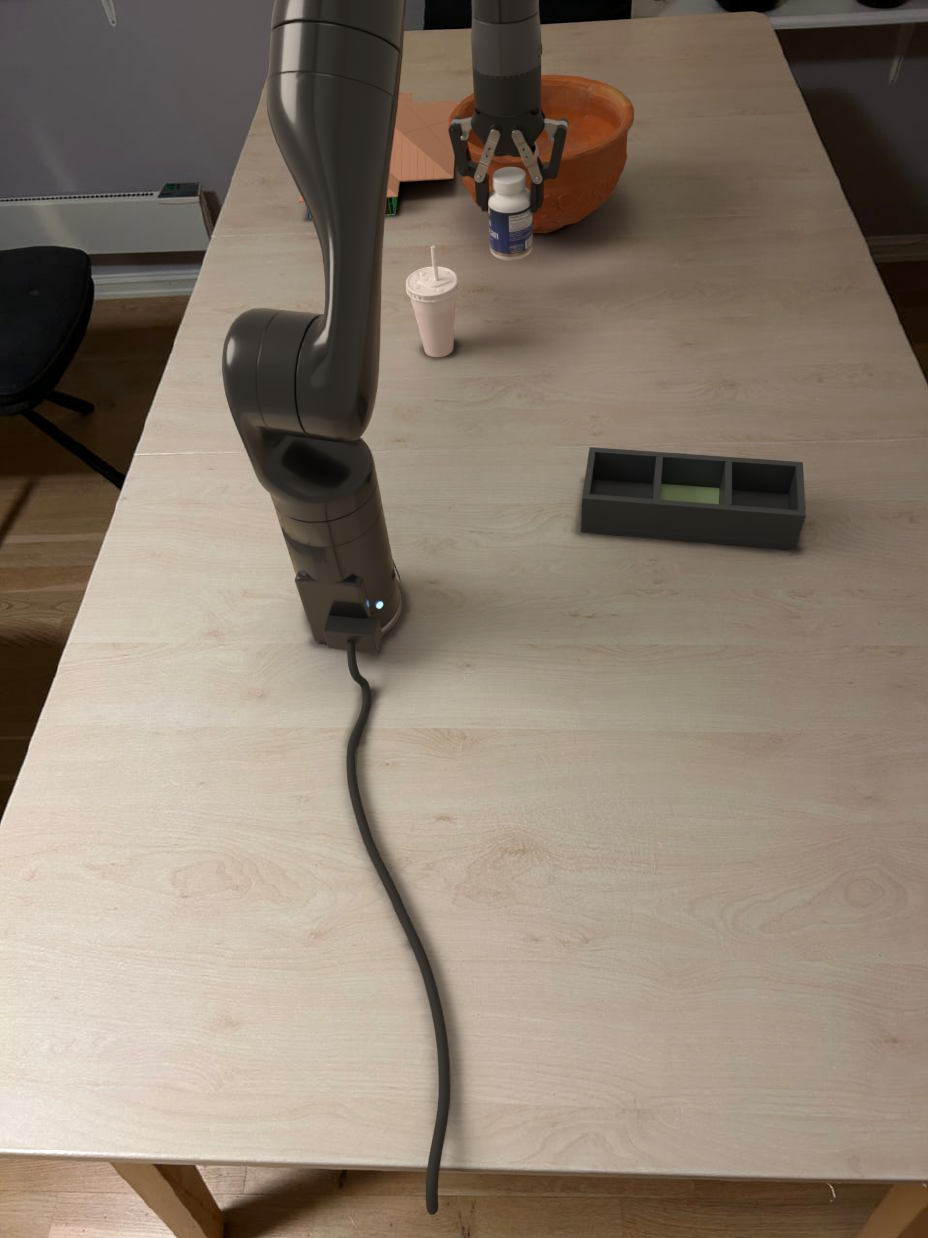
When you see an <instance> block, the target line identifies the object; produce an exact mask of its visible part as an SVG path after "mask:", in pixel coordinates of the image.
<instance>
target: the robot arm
mask: <svg viewBox="0 0 928 1238" xmlns="http://www.w3.org/2000/svg"><path fill="white" fill-rule="evenodd" d="M470 2H471V29H470V45H471V47H470V49H471V50H470V51H471V67H472V68H471V69H472V85H473V87H472V88H473V93H474V108H475V109H474V114H473V116H472V117H470V118H465V119H461V118H460V117H459V116H455V117H454V118H453V119H452V122H451V124H450V127H449V129H448V132H449V136H450V140H451V144H452V147H453V151H454V155H455V159H454V160H455V163H456V167H457V170H458V174H459V175H460V177H461V176H463V177H466V176H469V177H471V178H473V179H474V181H475V191H476V203H477V204H476V203H475V204H476V205H477V207H479V206H481V208H480V209H481V212H485V211H488V196H489V194H490V190H489V174H487V169H488V167H489V164H490V161H491V159H492V156H493V154H494V155H495V157H502V156H506V155H509V156H513V157H521V158H522V160H523V163H524V165H525V167H526V168H527V169H528V171H529V173H530V176H531V178H532V181H531V213H537V210H538V208H541V207H542V205H543V201H544V181H545V180H547V179H549V178H550V179H555V178H557V176H558V171H559V167H560V163H561V158H562V154H563V149H564V144H565V139H566V135H567V130H568V125H569V122H568V120H567V119H566V118H561V119H560V120H559V121H556V120H552V119H547V118H546V117H545V114H544V113H543V110H542V107H541V75H542V55H543V42H542V28H541V27H542V26H541V18H540V0H471V1H470ZM406 7H407V0H274V4H273V8H272V13H271V21H270V36H269V52H268V67H267V80H266V111H267V112H266V113H267V117H268V121H269V125H270V128H271V132H272V134H273V137H274V139H275V143H276V145H277V147H278V149H279V152H280V154H281V156H282V158H283V161H284V163H285V165H286V166H287V170H288V172H289V174H290V176H291V178H292V180H293V182H294V184H295V186H296V188H297V190H298V192H299V195H300V194H301V196H302V198H303V200H304V202H303V203H304V205H305V207H306V210H307V209H308V212H309V214H310V216H311V217H310V220H311V221H312V223H313V226H314V229H315V232H316V236H317V239H318V242H319V247H320V251H321V256H322V264H323V273H324V311H323V313H314V312H306V311H305V312H304V311H297V310H288V309H287V310H286V309H277V308H267V307H256V308H255V307H254V308H250V309H248V310H245V311H243V312H242V313H240V314H239V315H238V316H237V317H236V318H235V319H234V320H233V322H232V323H231V325H230V326H229V328H228V331H227V333H226V336H225V339H224V341H223V342H224V343H223V346H222V347H223V348H222V356H221V373H222V383H223V390H224V394H225V398H226V401H227V405H228V408H229V411H230V414H231V417H232V419H233V422H234V425H235V428H236V430H237V432H238V436H239V437H240V440H241V442H242V444H243V447H244V449H245V451H246V454H247V457H248V459H249V462H250V464H251V466H252V470H253V472H254V474H255V477H256V479H257V481H258V482H259V484H260V486H261V487H262V488H263V489H264V490H265V491H266V492H268V493H269V495H270V498H271V499H270V500H271V501H272V503H273V506H274V510H275V514H276V516H277V520H278V523H279V526H280V529H281V533H282V536H283V540H284V542H285V545H286V549H287V551H288V555H289V558H290V561H291V565H292V568H293V570H294V574H295V577H294V583H295V587H296V589H297V593H298V596H299V599H300V601H301V605H302V608H303V611H304V615H305V617H306V619H307V620H306V621H307V623H308V626H309V629H310V632H311V636H312V639H313V641H314V642H315V643H320V644H326V646H327V648H328V649H329V650H330V649H331V650H340V651H346V659H347V667H348V671H349V674H350V676H351V678H352V680H353V681H354V682H355V683H356V684H358V685H359V686H360V691H361V698H362V700H361V701H362V702H361V708H360V712H359V715H358V717H357V720H356V723H355V725H354V727H353V729H352V731H351V734H350V736H349V739H348V743H347V748H346V757H345V759H346V763H345V765H346V779H347V786H348V792H349V798H350V801H351V805H352V809H353V813H354V817H355V821H356V823H357V826H358V830H359V833H360V835H361V838H362V842H363V844H364V846H365V849H366V852H367V854H368V856H369V858H370V859H371V863H372V865H373V866H374V869H375V870H376V872H377V874H378V877H379V879H380V881H381V883H382V885H383V887H384V889H385V890H386V893H387V895H388V898H389V900H390V902H391V904H392V907H393V909H394V912H395V914H396V916H397V918H398V920H399V922H400V924H401V926H402V929H403V932H404V934H405V935H406V939H407V940H408V942H409V944H410V947H411V949H412V951H413V954H414V957H415V959H416V962H417V964H418V967H419V970H420V974H421V976H422V979H423V983H424V986H425V991H426V995H427V998H428V999H427V1000H428V1003H429V1007H430V1012H431V1017H432V1022H433V1027H434V1033H435V1034H434V1035H435V1042H436V1050H437V1051H436V1052H437V1053H436V1054H437V1069H438V1071H437V1072H438V1097H437V1109H436V1115H435V1122H434V1127H433V1133H432V1138H431V1142H430V1143H431V1144H430V1149H429V1154H428V1160H427V1168H426V1178H425V1207H426V1211H427V1213H428V1214H429V1215H430V1216H435V1214H437V1213H438V1210H439V1178H440V1177H439V1176H440V1169H441V1168H440V1167H441V1160H442V1154H443V1148H444V1143H445V1138H446V1134H447V1133H446V1132H447V1127H448V1120H449V1113H450V1102H451V1069H450V1067H451V1066H450V1052H449V1051H450V1049H449V1042H448V1033H447V1027H446V1022H445V1016H444V1011H443V1008H442V1003H441V999H440V995H439V994H440V993H439V991H438V987H437V983H436V979H435V977H434V976H435V975H434V973H433V969H432V967H431V964H430V960H429V958H428V955H427V953H426V951H425V948H424V946H423V943H422V941H421V939H420V937H419V935H418V932H417V929H416V927H415V926H414V924H413V922H412V920H411V917H410V915H409V913H408V911H407V909H406V907H405V903H404V902H403V899H402V898H401V895H400V893H399V890H398V888H397V887H396V884H395V882H394V880H393V878H392V876H391V874H390V872H389V870H388V868H387V866H386V865H385V862H384V860H383V858H382V856H381V854H380V852H379V850H378V847H377V844H376V843H375V840H374V837H373V835H372V832H371V829H370V825H369V823H368V820H367V816H366V813H365V811H364V806H363V803H362V799H361V794H360V791H359V786H358V785H359V784H358V780H357V779H358V778H357V765H356V764H357V763H356V762H357V759H356V758H357V757H356V756H357V747H358V743H359V739H360V737H361V734H362V732H363V730H364V727H365V725H366V723H367V721H368V718H369V714H370V710H371V707H372V692H371V687H370V683H369V681H368V680H367V678H365V677H364V676H363V675H362V674H361V673H360V670H359V668H358V663H357V662H358V661H357V654H356V653H359V652H360V653H367V654H376V655H377V654H378V653H379V649H380V646H381V642H382V639H383V636H385V635H386V634H388V633H389V632H390V631H391V629H393V628H394V627H395V625H396V624H397V623H398V621H399V620H400V619H399V618H400V617H401V613H402V611H403V610H402V609H403V601H402V595H401V591H400V588H399V584H398V580H399V583H402V580H401V576H400V573H399V570H398V569H397V566H396V563H395V561H394V557H393V555H392V548H391V543H390V538H389V532H388V527H387V522H386V517H385V512H384V506H383V501H382V496H381V490H380V484H379V480H378V474H377V469H376V464H375V459H374V456H373V453H372V449H370V447H369V445H368V443H367V442H366V441H365V439H364V438H362V436H363V435H364V433H365V432H366V431H367V429H368V427H369V425H370V422H371V419H372V417H373V413H374V410H375V405H376V400H377V393H378V386H379V376H380V357H381V331H382V330H381V329H382V328H381V327H382V296H383V295H382V293H383V292H382V290H383V289H382V288H383V256H384V255H383V254H384V253H383V251H384V235H385V222H386V210H387V200H388V198H387V191H388V182H389V173H390V164H391V156H392V148H393V140H394V132H395V124H396V116H397V108H398V98H399V93H400V87H401V86H400V85H401V77H402V65H403V56H404V55H403V54H404V53H403V52H404V39H405V24H406ZM471 129H473V131H474V132H475V133H476V135H477V136H478V137H479V139H480V140H481V142H482V143H483V144H484V146H485V147H484V150H483V153H482V155H481V158H480V161H479V163H476V162H474V161H472V159H471V154H470V150H469V146H468V142H467V139H468V137H469V134H470V130H471ZM543 130H545V131H546V132H547V133H548V140H549V141H550V142H553V148H552V153H551V158H550V162H549V163H546V164H543V162H542V160H541V157H540V155H539V149H538V146H537V144H536V142H535V141H536V140H537V138H538V137H539V135H540V134H541V133H542V131H543ZM308 212H307V213H308ZM397 577H398V579H397Z"/></svg>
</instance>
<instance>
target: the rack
mask: <svg viewBox="0 0 928 1238" xmlns="http://www.w3.org/2000/svg"><path fill="white" fill-rule="evenodd" d="M588 448H589V449H588V453H587V454H588V455H587V462H586V468H585V475H584V481H583V482H584V483H583V490H582V496H581V513H580V514H581V515H580V533H588V534H598V535H599V534H600V535H601V534H602V535H612V536H623V537H624V536H625V537H637V538H645V539H646V538H648V539H658V540H659V539H660V540H672V541H684V542H694V543H695V542H697V543H706V544H718V545H729V546H743V547H754V548H765V549H777V550H789V551H796V548H797V545H798V542H799V539H800V536H801V533H802V529H803V527H804V523H805V520H806V516H807V512H806V494H805V493H806V492H805V476H804V462H803V461H795V460H794V461H793V460H780V459H767V458H766V459H764V458H750V457H737V456H725V455H724V456H723V455H722V456H721V455H709V454H708V455H707V454H695V453H694V454H692V453H680V452H679V453H678V452H667V451H666V452H664V451H651V450H637V449H636V450H635V449H625V448H624V449H622V448H609V447H608V448H607V447H593V446H589V447H588Z"/></svg>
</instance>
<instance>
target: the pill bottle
mask: <svg viewBox="0 0 928 1238" xmlns="http://www.w3.org/2000/svg"><path fill="white" fill-rule="evenodd" d="M493 188H494V189H493V190H492V191H491V192H490V194H489V196H488V213H487V215H488V216H487V217H488V235H489V237H488V239H489V250H490V253H491V255H492V256H493V257H495V258H496V259H499V260H501V261H507V262H515V261H519V260H522V259H524V258H526V257H527V256H529V255H530V254H531V252H532V250H533V240H534V239H533V237H534V235H533V234H534V233H532V213H531V192H530V191H529V190H528V189H527V188H526V173H525V171H524V170H523V169H521V168H518V167H504V168H501V169H498V170H497V171H495V172H494V174H493Z"/></svg>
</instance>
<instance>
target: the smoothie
mask: <svg viewBox="0 0 928 1238" xmlns="http://www.w3.org/2000/svg"><path fill="white" fill-rule="evenodd" d="M430 255H431V265H432V266H426V267H425V266H424V267H422V268H419V269H416V270H414V271H413V272H411V273H410V274H409V276H407V278H406V280H405V292H406V294H407V295H408V297H409V298H410V301H411V304H412V308H413V312H414V316H415V320H416V323H417V327H418V331H419V334H420V335H419V336H420V338H421V342H422V346H423V351H424V352H425V354H426V355H427V356H429V357H432V358H443V357H447V356H449V355H450V354H451V353H453V351H454V342H455V341H454V340H455V324H456V323H455V322H456V302H457V292H458V290H459V287H460V284H459V276H458V275H457V273H456V272H455V271H453V270H452V269H450V268H448V267H444V266H439V265H438V260H437V259H438V258H437V249H436V245H430Z"/></svg>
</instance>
